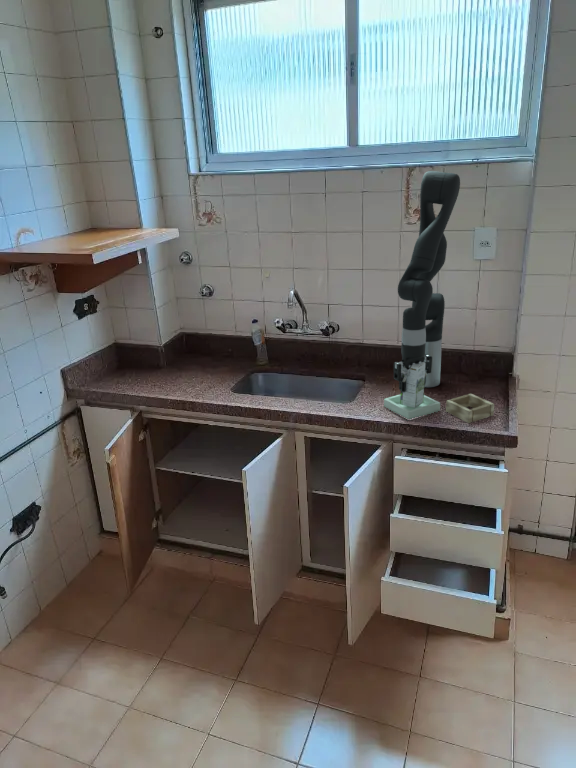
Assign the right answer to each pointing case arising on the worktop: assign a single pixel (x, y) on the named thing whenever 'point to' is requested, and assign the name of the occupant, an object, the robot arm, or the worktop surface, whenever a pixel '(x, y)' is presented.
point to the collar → (462, 412)
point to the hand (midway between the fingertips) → (412, 388)
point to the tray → (410, 412)
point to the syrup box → (414, 386)
